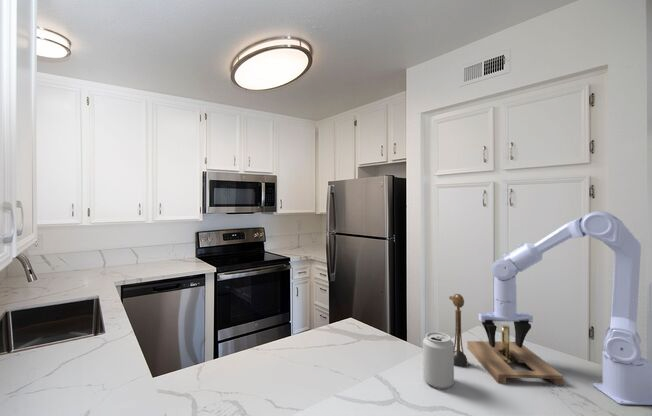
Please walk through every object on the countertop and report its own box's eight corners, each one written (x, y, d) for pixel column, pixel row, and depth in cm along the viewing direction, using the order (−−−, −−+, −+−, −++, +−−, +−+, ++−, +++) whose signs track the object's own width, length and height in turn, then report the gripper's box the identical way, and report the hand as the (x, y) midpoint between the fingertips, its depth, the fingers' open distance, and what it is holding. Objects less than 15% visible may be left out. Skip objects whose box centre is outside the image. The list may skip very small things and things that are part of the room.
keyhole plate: (519, 349, 100) (519, 341, 100) (563, 384, 80) (563, 375, 80) (467, 348, 101) (467, 341, 101) (498, 383, 81) (498, 374, 81)
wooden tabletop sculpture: (444, 358, 95) (444, 291, 95) (458, 356, 96) (457, 290, 96) (456, 368, 89) (456, 296, 89) (471, 366, 90) (470, 295, 90)
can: (417, 381, 82) (417, 335, 82) (432, 371, 87) (432, 327, 87) (445, 394, 77) (444, 344, 77) (459, 382, 82) (459, 336, 82)
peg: (508, 357, 95) (508, 323, 95) (516, 363, 91) (516, 329, 91) (495, 357, 95) (494, 324, 95) (502, 364, 91) (502, 329, 91)
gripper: (522, 295, 97) (523, 340, 97) (474, 295, 98) (474, 339, 98) (537, 302, 90) (537, 350, 90) (484, 302, 91) (484, 350, 91)
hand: (505, 345), depth 93 cm, fingers open, 7 cm apart
